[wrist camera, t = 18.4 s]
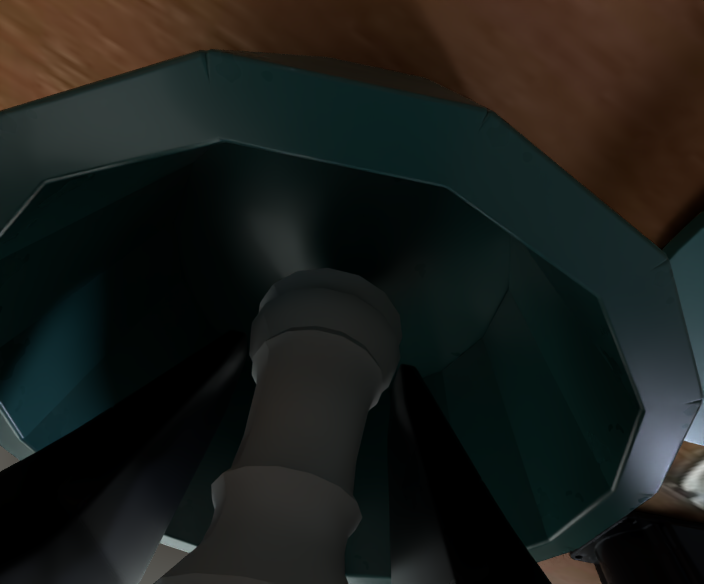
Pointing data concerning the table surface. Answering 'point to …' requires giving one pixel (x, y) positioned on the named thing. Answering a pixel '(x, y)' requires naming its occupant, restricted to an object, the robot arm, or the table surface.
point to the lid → (691, 299)
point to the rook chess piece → (300, 435)
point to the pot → (348, 256)
